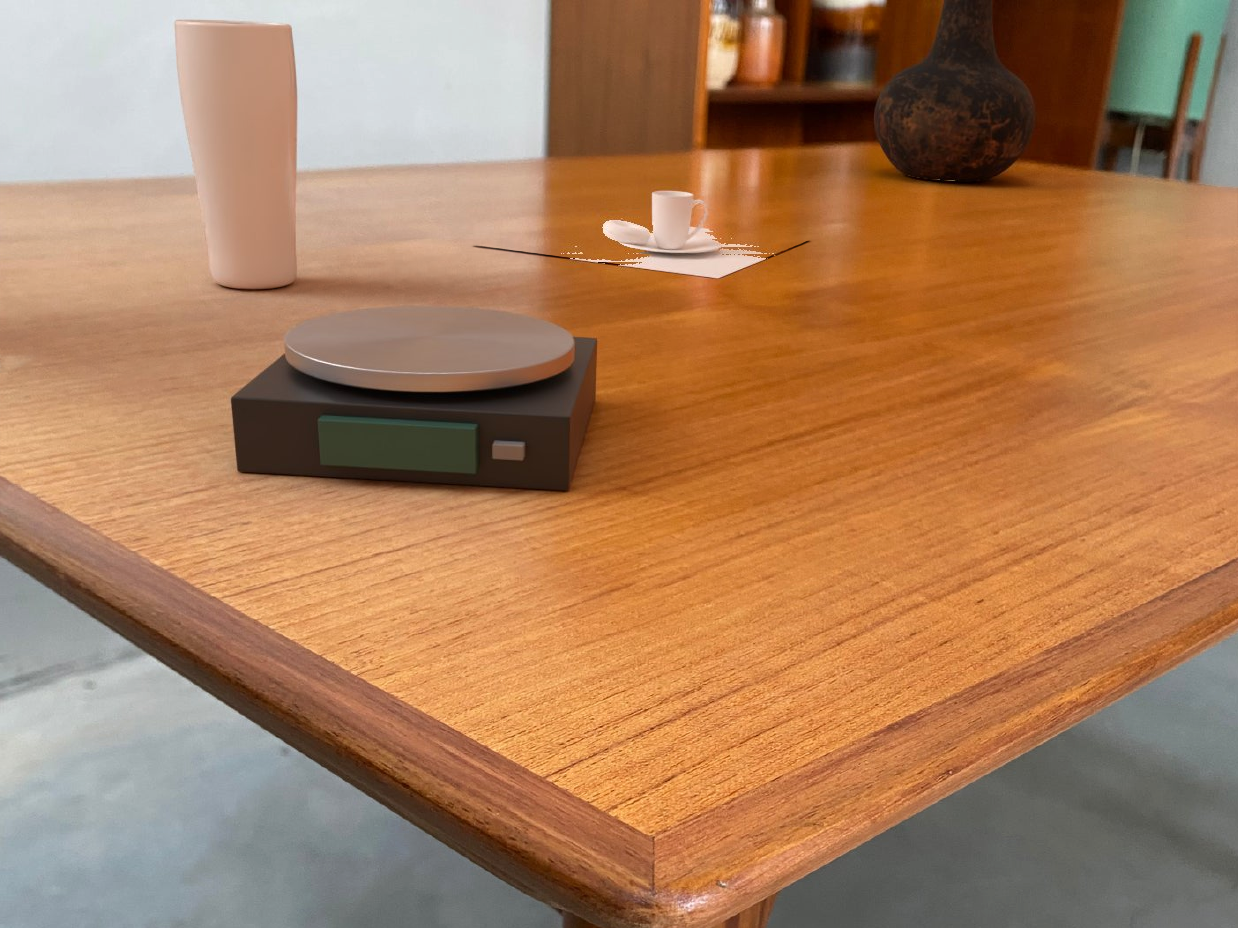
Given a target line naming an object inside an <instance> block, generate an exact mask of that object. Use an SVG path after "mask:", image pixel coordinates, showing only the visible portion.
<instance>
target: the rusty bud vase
mask: <svg viewBox="0 0 1238 928" xmlns="http://www.w3.org/2000/svg"><path fill="white" fill-rule="evenodd" d="M993 24H994V23H993V0H943V3H942V9H941V14H940V18H939V22H938V26H937V30H936V34H935V37H934V40H933V43H932V46H931V48H930V50H929V52H928V53H927V55H926V56H925V57H924V58H923V59H922V60H921V61H920V62H918V63H916V64H914V65H912V66H909V67H906V68H904V69H903V70H901V71H899V72H898V73H896V74H895V75H894V76H893V77H892V78H891V79H890V80H889V81H887V83H886V84H885V85H884V87H883V88H882V90H881V91H880V93H879V95H878V98H877V100H876V103H875V107H874V112H873V113H874V115H873V124H874V131H875V135H876V137H877V138H876V139H877V141H878V143H879V144H878V145H880V148H881V150H882V152H883V153H884V155H885V157H886V158H887V160H888V161H889V162H890V164H891V165H892V166H893V167H894V168H895V169H896V170H898V172H900V173H901V174H903V175H905V174H906V175H905V176H907V175H910V176H914V177H919V178H918V179H920V178H927V179H926V180H928V179H940V180H955V181H975V182H978V181H977V180H983V181H986V179H987V180H989V179H990V180H991V179H993V178H995V177H997V176H999V175H1001V174H1002V173H1004V172H1006V171H1007V170H1008V169H1009V168H1010V167H1012V166H1013V165H1014V164H1015V162H1016V161H1018V159H1019V158H1020V157H1021V155H1022V154H1024V152H1025V150H1026V148H1027V146H1028V145H1029V142H1030V140H1031V138H1032V134H1033V132H1034V128H1035V123H1036V107H1035V103H1034V99H1033V95H1032V94H1031V92H1030V90H1029V88H1028V87H1027V85H1026V84H1025V82H1024V81H1023V80H1022V79H1020V78H1019V77H1018V76H1017V75H1016V74H1014V73H1013V72H1012V71H1010V70H1009V69H1007V68H1006V66H1004V65H1003V64H1002V62H1001V61H1000V59H999V57H998V55H997V51H996V46H995V39H994V25H993ZM910 176H909V177H910ZM914 177H913V178H914Z"/></svg>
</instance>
